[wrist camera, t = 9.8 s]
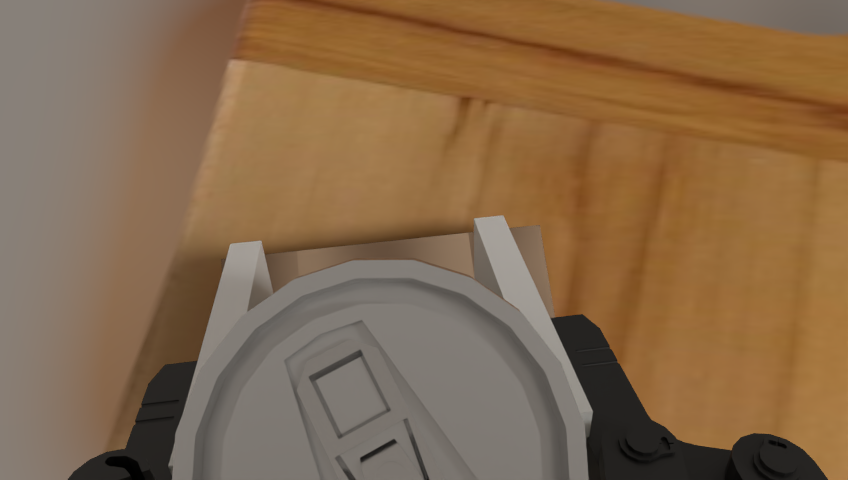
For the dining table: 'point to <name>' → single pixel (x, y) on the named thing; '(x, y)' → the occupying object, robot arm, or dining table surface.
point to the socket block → (435, 250)
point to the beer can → (382, 385)
